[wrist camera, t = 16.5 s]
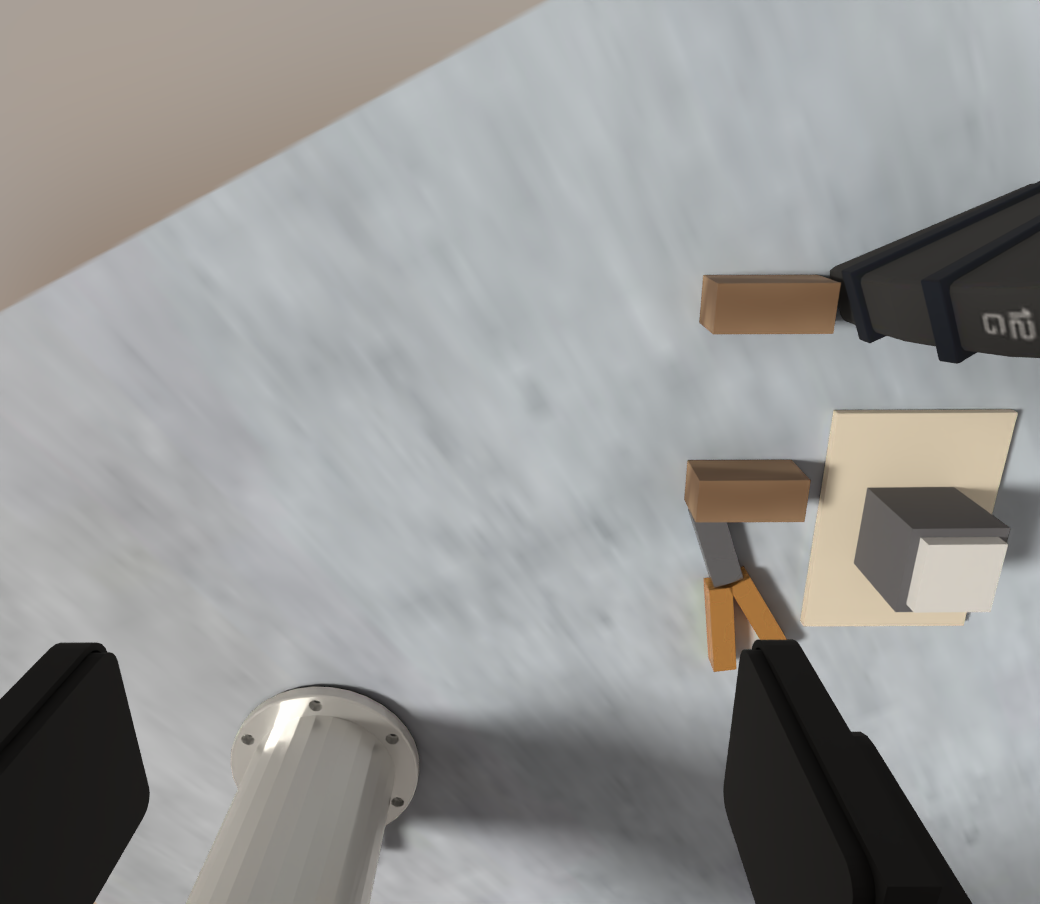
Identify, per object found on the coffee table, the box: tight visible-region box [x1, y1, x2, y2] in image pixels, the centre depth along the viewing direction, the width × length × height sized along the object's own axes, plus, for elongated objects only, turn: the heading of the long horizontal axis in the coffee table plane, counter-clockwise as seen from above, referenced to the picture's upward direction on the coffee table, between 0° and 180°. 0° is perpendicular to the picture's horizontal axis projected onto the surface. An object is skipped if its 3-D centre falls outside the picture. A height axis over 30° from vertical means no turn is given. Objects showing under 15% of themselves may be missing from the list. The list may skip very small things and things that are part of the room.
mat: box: [800, 409, 1018, 626], centre depth 43 cm, size 14×10×1 cm
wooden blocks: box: [684, 275, 841, 522], centre depth 39 cm, size 13×6×3 cm, turn 0°
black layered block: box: [830, 181, 1040, 363], centre depth 33 cm, size 4×13×15 cm, turn 114°
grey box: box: [854, 487, 1010, 613], centre depth 40 cm, size 5×5×6 cm
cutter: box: [688, 509, 787, 672], centre depth 44 cm, size 11×5×1 cm, turn 20°
